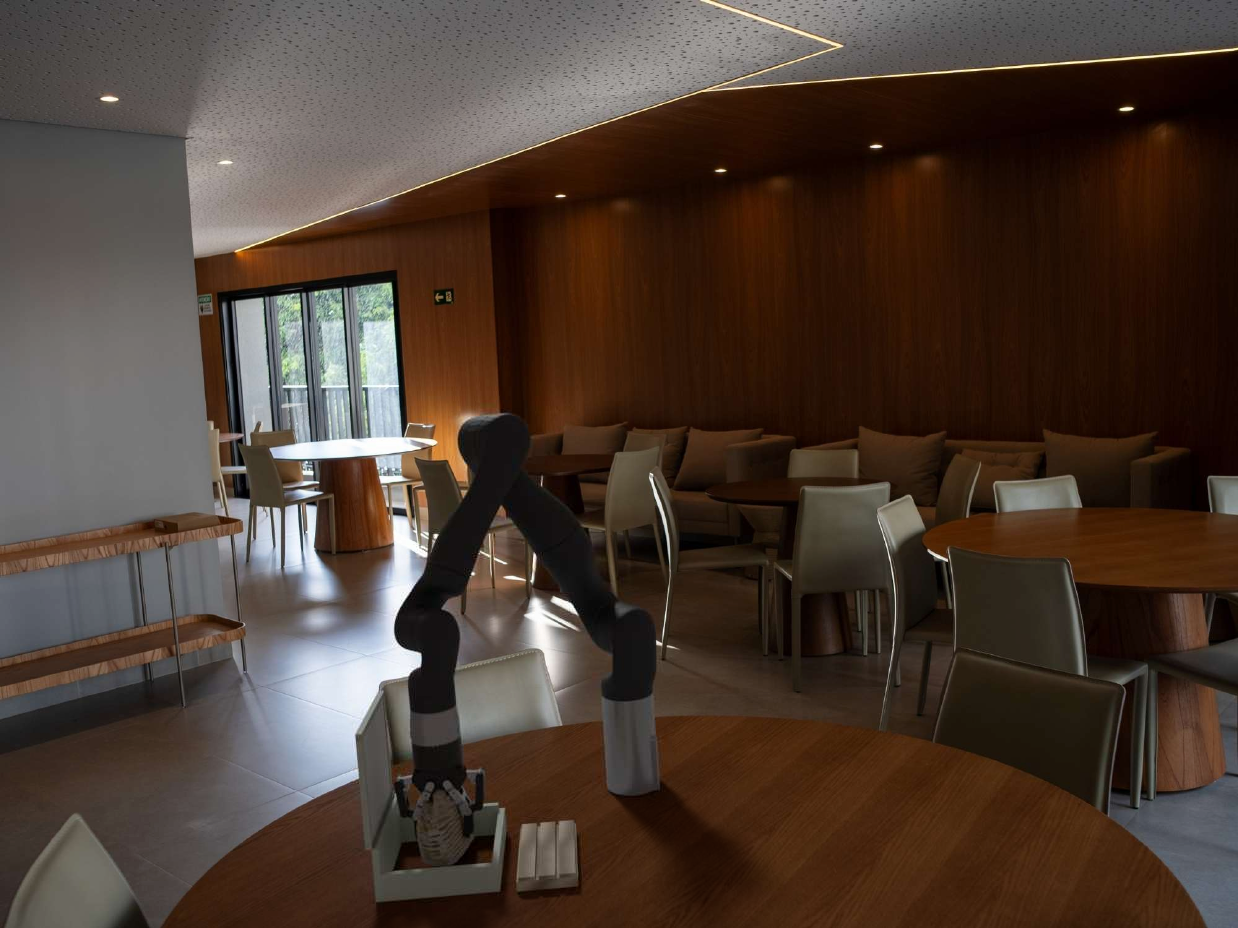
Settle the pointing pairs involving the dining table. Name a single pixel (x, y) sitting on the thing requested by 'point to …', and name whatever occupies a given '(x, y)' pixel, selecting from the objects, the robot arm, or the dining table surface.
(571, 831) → the slatted stand
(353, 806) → the dining table surface
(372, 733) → the cold frame
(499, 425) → the robot arm
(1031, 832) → the dining table surface
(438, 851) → the fossil tooth
